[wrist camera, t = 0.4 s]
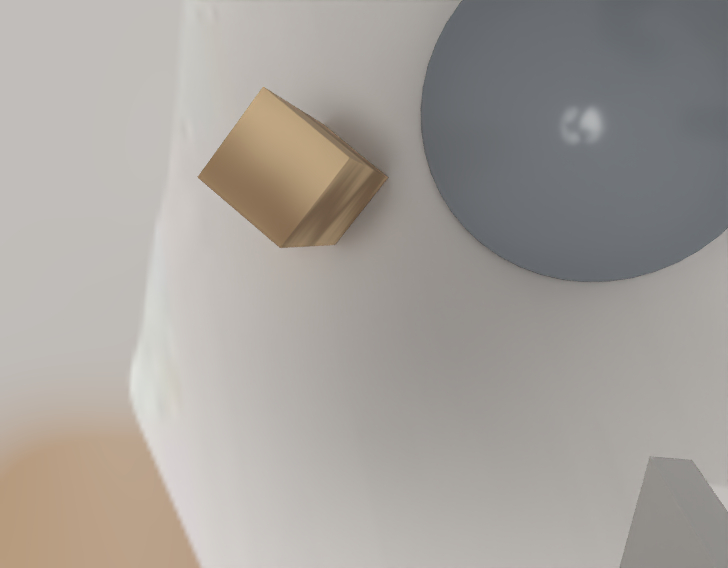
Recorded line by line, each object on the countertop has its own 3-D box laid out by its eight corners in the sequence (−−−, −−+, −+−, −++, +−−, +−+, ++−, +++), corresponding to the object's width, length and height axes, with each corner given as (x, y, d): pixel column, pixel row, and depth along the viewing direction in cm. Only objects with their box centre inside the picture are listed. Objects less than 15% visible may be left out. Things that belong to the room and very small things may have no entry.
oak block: (322, 123, 39) (263, 86, 29) (388, 177, 38) (349, 157, 29) (271, 191, 40) (197, 177, 30) (335, 244, 39) (280, 247, 30)
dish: (571, -130, 35) (574, -146, 34) (857, 77, 33) (874, 70, 32) (360, 143, 38) (354, 140, 37) (609, 346, 37) (614, 351, 35)
